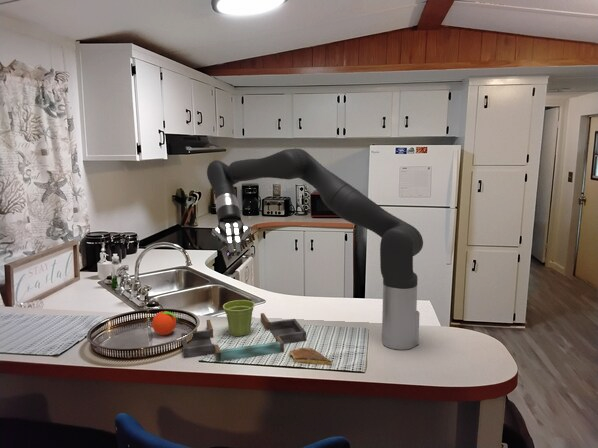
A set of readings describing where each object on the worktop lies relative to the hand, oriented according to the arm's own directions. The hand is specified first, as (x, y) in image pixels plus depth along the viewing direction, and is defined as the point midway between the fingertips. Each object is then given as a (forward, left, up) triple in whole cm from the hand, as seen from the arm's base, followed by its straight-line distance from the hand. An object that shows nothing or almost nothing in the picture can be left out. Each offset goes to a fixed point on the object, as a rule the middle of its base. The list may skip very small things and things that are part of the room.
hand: (235, 254), depth 143 cm
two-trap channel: (+1, +14, -22) cm, 26 cm away
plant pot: (+1, +9, -22) cm, 24 cm away
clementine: (+22, +3, -22) cm, 31 cm away
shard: (-14, +31, -23) cm, 41 cm away
